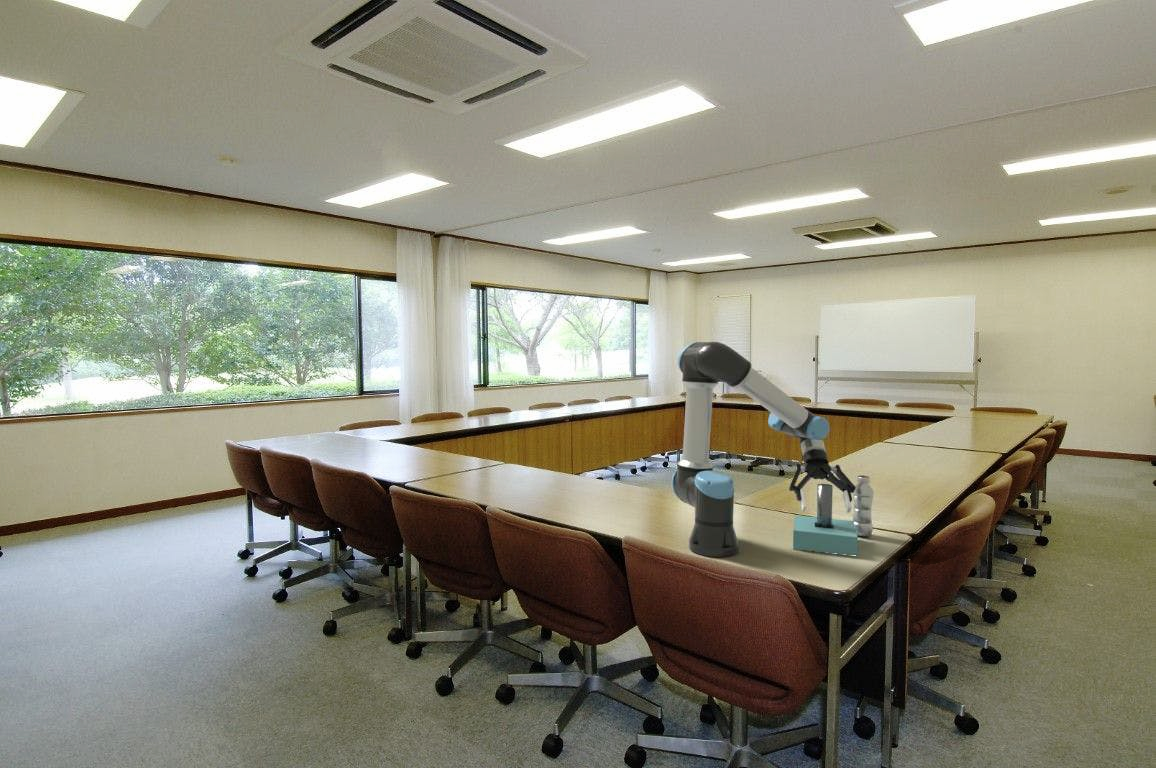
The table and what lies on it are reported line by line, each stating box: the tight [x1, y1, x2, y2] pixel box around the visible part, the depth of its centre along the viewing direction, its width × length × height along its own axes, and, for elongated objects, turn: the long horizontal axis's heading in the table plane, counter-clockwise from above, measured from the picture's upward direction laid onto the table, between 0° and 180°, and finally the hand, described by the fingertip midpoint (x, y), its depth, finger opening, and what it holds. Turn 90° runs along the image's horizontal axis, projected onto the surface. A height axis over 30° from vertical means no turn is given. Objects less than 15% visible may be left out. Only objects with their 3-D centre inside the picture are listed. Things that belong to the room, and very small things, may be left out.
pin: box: [816, 483, 834, 529], centre depth 183 cm, size 4×4×18 cm
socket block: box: [792, 514, 858, 557], centre depth 183 cm, size 18×18×6 cm
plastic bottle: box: [852, 474, 875, 537], centre depth 191 cm, size 6×7×20 cm
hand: (826, 510), depth 181 cm, fingers open, 13 cm apart
